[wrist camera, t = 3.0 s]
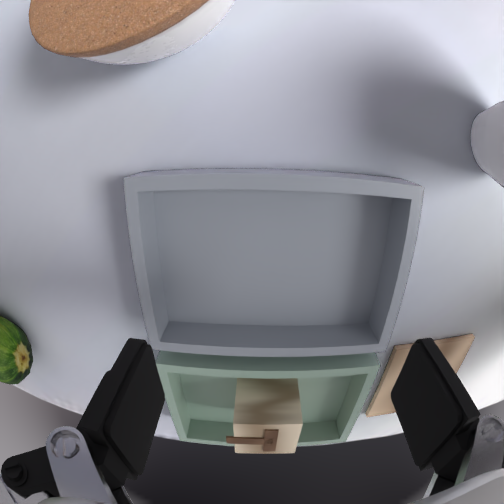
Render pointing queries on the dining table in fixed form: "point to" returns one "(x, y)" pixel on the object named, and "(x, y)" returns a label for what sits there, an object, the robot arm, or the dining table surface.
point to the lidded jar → (123, 27)
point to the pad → (381, 400)
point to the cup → (490, 141)
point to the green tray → (232, 367)
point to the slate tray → (270, 259)
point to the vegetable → (14, 353)
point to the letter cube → (266, 416)
